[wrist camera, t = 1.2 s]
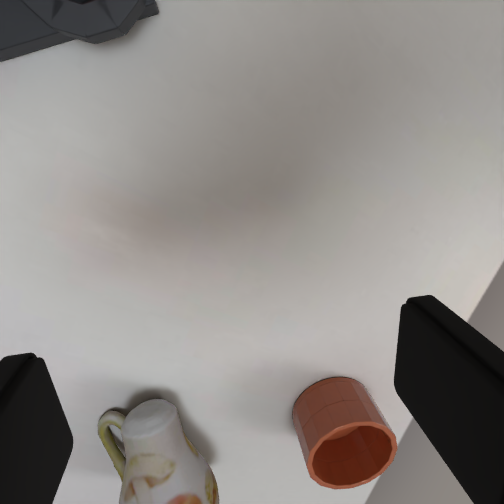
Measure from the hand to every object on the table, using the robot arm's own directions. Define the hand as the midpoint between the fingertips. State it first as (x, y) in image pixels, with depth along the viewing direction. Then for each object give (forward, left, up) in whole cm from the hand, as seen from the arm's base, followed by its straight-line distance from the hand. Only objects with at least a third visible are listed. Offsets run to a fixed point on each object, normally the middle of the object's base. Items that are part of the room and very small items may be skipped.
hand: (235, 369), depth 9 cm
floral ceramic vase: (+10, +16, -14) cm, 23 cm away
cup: (-4, +19, -14) cm, 24 cm away
